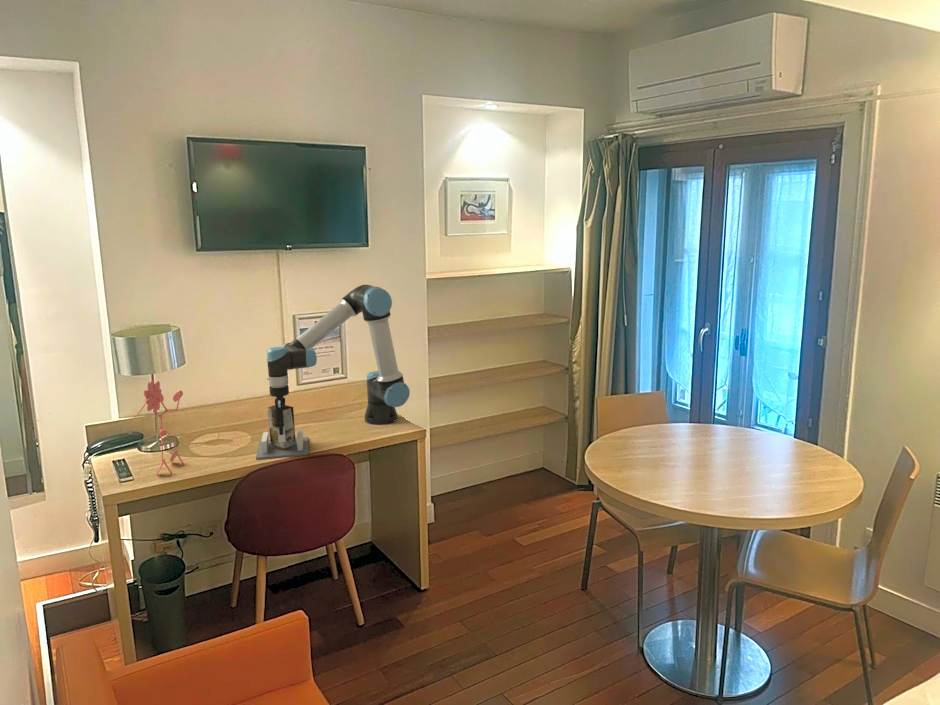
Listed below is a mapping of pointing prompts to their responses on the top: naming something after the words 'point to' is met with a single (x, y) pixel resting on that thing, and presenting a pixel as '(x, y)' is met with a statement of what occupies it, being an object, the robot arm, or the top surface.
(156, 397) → the figurine
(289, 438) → the coffee box
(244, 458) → the top surface
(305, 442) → the collar base
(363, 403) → the top surface
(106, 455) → the top surface
